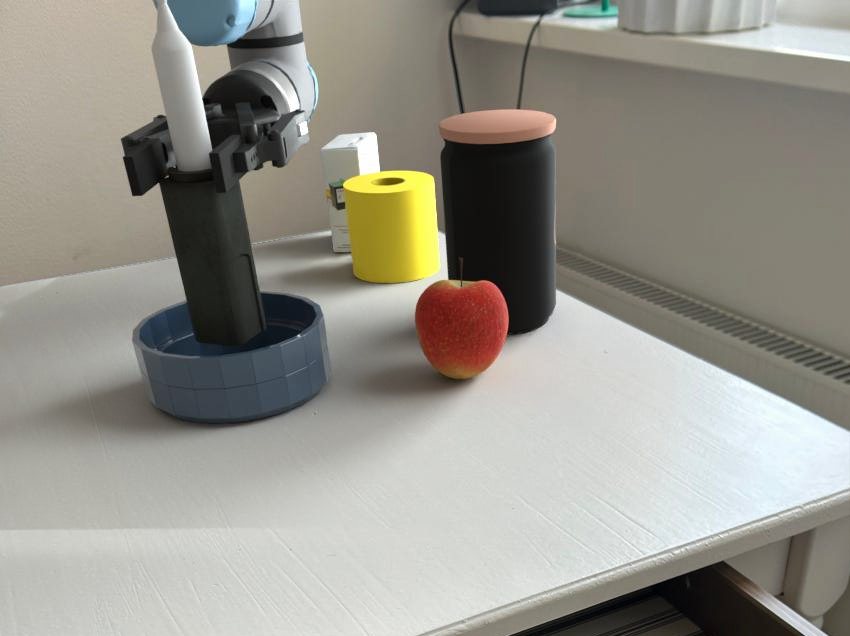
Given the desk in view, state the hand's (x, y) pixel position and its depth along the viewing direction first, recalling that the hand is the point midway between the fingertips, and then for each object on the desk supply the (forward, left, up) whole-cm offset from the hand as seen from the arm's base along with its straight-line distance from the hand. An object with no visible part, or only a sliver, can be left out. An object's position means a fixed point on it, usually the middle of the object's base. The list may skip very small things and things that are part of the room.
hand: (175, 174), depth 72 cm
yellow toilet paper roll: (+10, +38, -19) cm, 44 cm away
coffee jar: (+23, +21, -19) cm, 37 cm away
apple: (+20, +7, -19) cm, 29 cm away
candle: (0, +5, -14) cm, 15 cm away
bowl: (0, +5, -19) cm, 20 cm away
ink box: (+4, +49, -19) cm, 53 cm away
